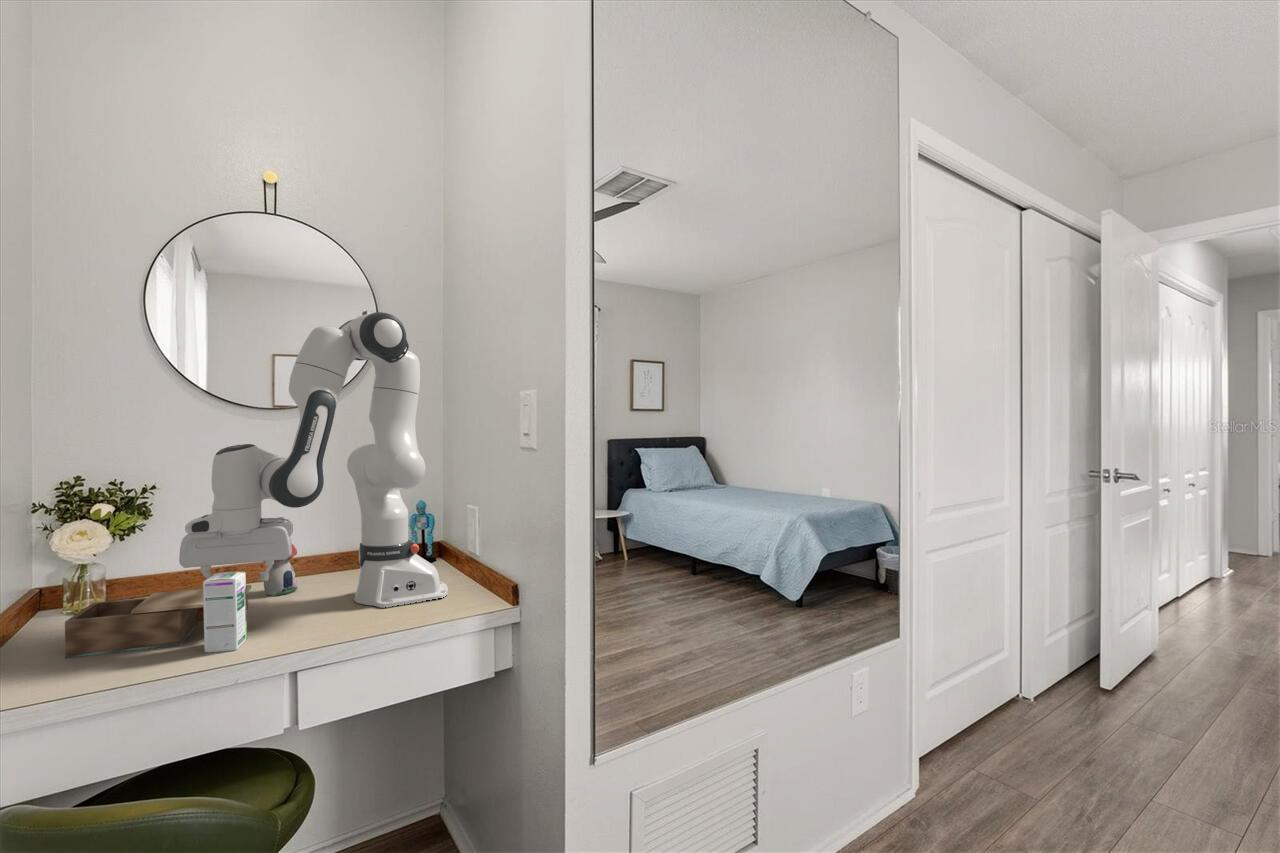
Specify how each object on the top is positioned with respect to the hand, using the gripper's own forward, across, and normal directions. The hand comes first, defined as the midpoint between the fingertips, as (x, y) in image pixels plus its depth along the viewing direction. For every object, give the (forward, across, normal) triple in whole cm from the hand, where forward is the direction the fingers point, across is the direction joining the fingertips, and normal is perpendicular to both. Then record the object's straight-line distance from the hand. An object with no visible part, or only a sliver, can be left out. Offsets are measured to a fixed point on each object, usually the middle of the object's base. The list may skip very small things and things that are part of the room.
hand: (238, 583), depth 130 cm
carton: (+11, +10, -13) cm, 19 cm away
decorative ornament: (+10, -4, -26) cm, 28 cm away
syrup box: (+10, 0, +10) cm, 14 cm away
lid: (+3, +8, 0) cm, 8 cm away
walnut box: (+10, +18, 0) cm, 20 cm away
